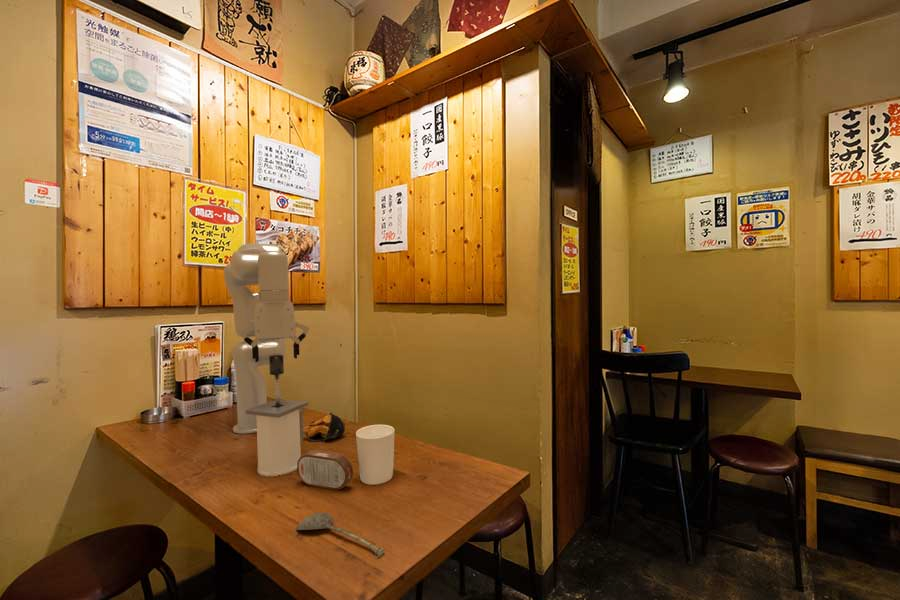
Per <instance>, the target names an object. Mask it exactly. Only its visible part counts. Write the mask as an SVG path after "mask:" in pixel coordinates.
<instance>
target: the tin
mask: <svg viewBox="0 0 900 600" xmlns="http://www.w3.org/2000/svg"><path fill="white" fill-rule="evenodd" d="M296 470H297V475H298V477H299V478H300V480H301V481H302V482H303V483H304V484H306V485H308V486H311V487H317V488H323V489H329V490H334V491H337V490H338V491H339V490H341V489H344V487H345V486H347V485H349V484H350V483H351V481H352V479H353V478H354V477H353V476H354V468H353V465H352V463H351V461H350V459H349V458H348V457H346V456H345V455H344V454H342V453H340V452H339V453H338V452H332V451H325V450H318V449H310V450H307V451H306V452H305V453H304V454H301V457H300V458H299V460H298V462H297V469H296Z"/></svg>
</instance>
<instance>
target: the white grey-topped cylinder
mask: <svg viewBox="0 0 900 600" xmlns="http://www.w3.org/2000/svg"><path fill="white" fill-rule="evenodd" d="M308 406H309V401H304V400H303V401H302V400H291V399H281V398H280V407H279V408H276V403H275V399H274V400H272V401H271V400H270V401H269V402H267V403H265V404H262V405H259V406H256V407H254V408H251V409H248V410H246V414H251V415H256V419H257V432H256V440H257V441H256V443H257V446H256V447H257V474H259V476H261V477H269V476H270V477H278V475H280V476H283V474H284V475H287V474H290V473H292V472H294V471H296V470H297V462H298V460H299V458H300V457H301V456H302V453H301V442H303V441H304V433H303V427H304V422H303V420H304V419H303V408H306V407H308Z"/></svg>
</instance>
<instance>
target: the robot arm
mask: <svg viewBox="0 0 900 600" xmlns="http://www.w3.org/2000/svg"><path fill="white" fill-rule="evenodd" d="M282 249H283V248H281V246H279V245H278V244H274V243H273V244H272V243H257V242H255V243H254V242H253V243H251V242H249V243H245V244H242V245H240V246H239V247H238V249H237V250H235V251H234V252H232V254H231V258H230V263H228V264H226V265H225V266H224V269H223V278H224V284H225V286H226V289H227V291H228V293H229V295H230V297H231V299H232V306H233V318H234V319H233V321H234V329H235V333H236V335H237V336H238V337H241V338H242V339H243V341H239V342H238V343H236V344H234V346H233V347H232V349H231V350H232V351H231V352H232V353H231V355H232V360H233V361H232V362H233V366H234V371H235V372H234V374H235V384H236V385H235V387H236V388H235V389H236V412H237V414H236V415H237V424H235V425H234V426H233V427H232V432H233V433H234V434H235V433H236V434H246V435H247V434H254V433H257V419H256V415H251V414H246V410H248V409H251V408H254V407H256V406H259V405H262V404H265V403H268V402H267V401H268V400H267V380H266V379H267V378H266V375H265V374H264V373H263V372H262V371H260V370H259V369H258V367H262V366H269V356H270V355H278V354H282V355H283V359H284V361H286V356H287V350H286V348H287V347H286V339H292V341H293V346H292V347H293V358H294V359H298V356H299V355H300V344H301V342H302V341H303V340H304V339H305V338H306V337H307V334H308V333H309V330H310V328H309V327H308V326H306V325H305V324H302V323H299V322H297V321H296V315H295V309H294V308H295V307H294V304H293V302H292V301H290V287H289V286H290V285H289V284H290V283H289V281H290V280H289V261H288V260H289V258H288V255H287V254H286V253H284V252H283V250H282ZM248 286H258V292H256V293H255V292H254V291H253V290H252V289H251V288H250V287H248ZM297 328H298V329H300V330H302V332H301V334H300V335H299V336H296V332H297V331H296V330H297ZM252 338H255V339H252Z"/></svg>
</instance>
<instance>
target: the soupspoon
mask: <svg viewBox="0 0 900 600" xmlns="http://www.w3.org/2000/svg"><path fill="white" fill-rule="evenodd" d="M332 523H333V515H332V514H331V513H329V512H322V511H321V512H316V513H312V514H310V515H308V516H306V517H305V518H304V519H302V520H301V521H300V523H298V525H297V526H296V528H295V530H296V531H307V530H309V531H310V530H323V529H328V530H332V531H335V532H337V533H340V534H342V535H344V536H347V537H349V538H351V539H353V540H355V541H357V542H360V543H361V544H363V545H365V546H367V548H368V549H371V552H374V554H375V555H376V558H377V559H378V558H380V557H381V556H383V554H385V548H384V547H383V548H381V547H378V546H376V545H373V543H372V542H369V541H367V540H365V539H363V538H361V537H360V536H357V535H355V534H353V533H351V532H349V531H346V530H345V529H343V528H341V527H339V526H338V527H337V526H336V525H333V524H332Z"/></svg>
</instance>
